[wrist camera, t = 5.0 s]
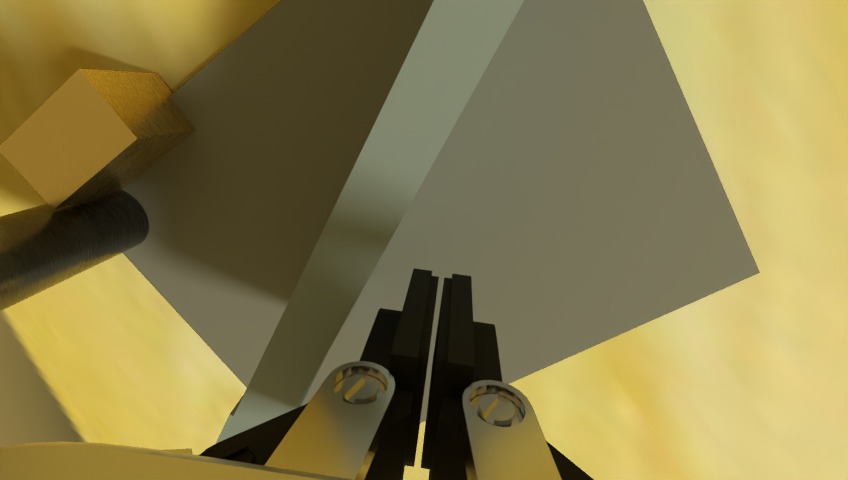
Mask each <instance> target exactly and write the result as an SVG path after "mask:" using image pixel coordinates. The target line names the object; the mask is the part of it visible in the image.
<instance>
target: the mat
mask: <svg viewBox="0 0 848 480" xmlns="http://www.w3.org/2000/svg"><path fill="white" fill-rule="evenodd" d="M433 1H434V0H281V1H280V2H279V3H278V4H277V5H275V6H274V7H273V8H272V9H271V10H270V11H268V12H267V13H266V14H265V15H264V16H263V17H261V18H260V19H259V20H258V21H257V22H256V23H255V24H253V25H252V26H251V27H250V28H249V29H248V30H246V31H245V32H244V33H243V34H242V35H241V36H239V37H238V38H237V39H236V40H235V41H234V42H232V43H231V44H230V45H229V46H228V47H227V48H226V49H224V50H223V51H222V52H221V53H220V54H219V55H217V56H216V57H215V58H214V59H213V60H212V61H210V62H209V63H208V64H207V65H206V66H205V67H203V68H202V69H201V70H200V71H199V72H198V73H197V74H195V75H194V76H193V77H192V78H191V79H190V80H188V81H187V82H186V83H185V84H184V85H183V86H181V87H180V88H179V89H178V90H177V91H176V92H174V93H173V94H172V95H171V96H170V98H171V99H172V100H173V102H174V103H175V104H176V105H177V107H178V108H179V109H180V111H181V112H182V113H183V114H184V116H185V117H186V118H187V119H188V121H189V122H190V123H191V125H192V126H193V127H194V128H195V131H194V132H193V133H191V134H190V135H189V136H188V137H186V138H185V139H184V140H183V141H182V142H180V143H179V144H178V145H177V146H175V147H174V148H173V149H172V150H170V151H169V152H168V153H167V154H165V155H164V156H163V157H162V158H161V159H159V160H158V161H157V162H156V163H154V164H153V165H152V166H151V167H149V168H148V169H147V170H146V171H144V172H143V173H142V174H141V175H140V176H138V177H137V178H136V179H135V180H133V181H132V182H131V183H130V184H128V185H127V186H126V187H125V188H123V189H122V190H123V191H125V192H127V193H129V194H130V195H132V196H133V197H134V198H135V199H136V200H137V201H138V202H139V203H140V204H141V205H142V207H143V208H144V210H145V212H146V214H147V217H148V221H149V232H148V235H147V237H146V239H145V240H144V241H143V242H142V243H141V244H139V245H137V246H135V247H133V248H131V249H129V250H127V251H125V252H122V253H123V254H124V255H125V256H126V257H127V258H128V259H129V260H130V261H131V262H132V264H133V265H134V266H135V267H136V268H137V269H138V270H139V271H140V272H141V273H142V274H143V275H144V277H145V278H146V279H147V280H148V281H149V282H150V283H151V284H152V285H153V286H154V287H155V288H156V290H157V291H158V292H159V293H160V294H161V295H162V296H163V297H164V298H165V299H166V300H167V302H168V303H169V304H170V305H171V306H172V307H173V308H174V309H175V310H176V311H177V312H178V313H179V315H180V316H181V317H182V318H183V319H184V320H185V321H186V322H187V323H188V324H189V325H190V326H191V328H192V329H193V330H194V331H195V332H196V333H197V334H198V335H199V336H200V337H201V338H202V339H203V341H204V342H205V343H206V344H207V345H208V346H209V347H210V348H211V349H212V350H213V351H214V353H215V354H216V355H217V356H218V357H219V358H220V359H221V360H222V361H223V362H224V363H225V364H226V366H227V367H228V368H229V369H230V370H231V371H232V372H233V373H234V374H235V375H236V376H237V377H238V379H239V380H240V381H241V382H242V383H243V384H244V385H245V386H246V387H248V385H249V383H250V381H251V379H252V377H253V375H254V373H255V371H256V369H257V367H258V364H259V362H260V360H261V358H262V356H263V354H264V352H265V350H266V348H267V346H268V344H269V342H270V340H271V337H272V335H273V333H274V331H275V329H276V327H277V325H278V323H279V321H280V319H281V317H282V315H283V313H284V310H285V308H286V306H287V304H288V302H289V300H290V298H291V296H292V294H293V292H294V290H295V288H296V286H297V283H298V281H299V279H300V277H301V275H302V273H303V271H304V269H305V267H306V265H307V263H308V261H309V259H310V256H311V254H312V252H313V250H314V248H315V246H316V244H317V242H318V240H319V238H320V236H321V234H322V232H323V229H324V227H325V225H326V223H327V221H328V219H329V217H330V215H331V213H332V211H333V209H334V207H335V205H336V202H337V200H338V198H339V196H340V194H341V192H342V190H343V188H344V186H345V184H346V182H347V180H348V178H349V175H350V173H351V171H352V169H353V167H354V165H355V163H356V161H357V159H358V157H359V155H360V153H361V151H362V149H363V146H364V144H365V142H366V140H367V138H368V136H369V134H370V132H371V130H372V128H373V126H374V124H375V122H376V119H377V117H378V115H379V113H380V111H381V109H382V107H383V105H384V103H385V101H386V99H387V97H388V95H389V92H390V90H391V88H392V86H393V84H394V82H395V80H396V78H397V76H398V74H399V72H400V70H401V68H402V65H403V63H404V61H405V59H406V57H407V55H408V53H409V51H410V49H411V47H412V45H413V43H414V41H415V38H416V36H417V34H418V32H419V30H420V28H421V26H422V24H423V22H424V20H425V18H426V16H427V14H428V11H429V9H430V7H431V5H432V3H433ZM414 268H416V269H423V270H430V271H432V276H437V277H439V280H438V288H437V296H436V304H435V312H434V319H433V327H432V335H431V343H430V351H429V359H428V366H427V374H426V381H425V388H424V396H423V403H422V410H421V418H420V423H421V422H423V421H426V416H427V407H428V398H429V389H430V380H431V371H432V362H433V355H434V348H435V341H436V333H437V326H438V319H439V312H440V305H441V298H442V291H443V284H444V277H445V278H452V274H459V275H467V276H471V281H472V304H473V321H475V322H482V323H489V324H494V325H495V329H496V336H497V344H498V351H499V359H500V366H501V374H502V381H503V383H506V384H509V383H512V382H514V381H516V380H518V379H521V378H523V377H525V376H527V375H530V374H532V373H534V372H536V371H539V370H541V369H543V368H545V367H548V366H550V365H552V364H554V363H557V362H559V361H561V360H563V359H566V358H568V357H570V356H572V355H575V354H577V353H579V352H582V351H584V350H586V349H588V348H591V347H593V346H595V345H597V344H600V343H602V342H604V341H606V340H609V339H611V338H613V337H615V336H618V335H620V334H622V333H624V332H627V331H629V330H631V329H633V328H636V327H638V326H640V325H642V324H645V323H647V322H649V321H652V320H654V319H656V318H658V317H661V316H663V315H665V314H667V313H670V312H672V311H674V310H676V309H679V308H681V307H683V306H685V305H688V304H690V303H692V302H694V301H697V300H699V299H701V298H703V297H706V296H708V295H710V294H712V293H715V292H717V291H719V290H722V289H724V288H726V287H728V286H731V285H733V284H735V283H737V282H740V281H742V280H744V279H746V278H749V277H751V276H753V275H755V274H758V273H760V272H759V270H758V267H757V265H756V263H755V260H754V258H753V256H752V253H751V251H750V249H749V247H748V244H747V242H746V240H745V237H744V235H743V233H742V230H741V228H740V226H739V223H738V221H737V219H736V216H735V214H734V212H733V209H732V207H731V205H730V202H729V200H728V198H727V195H726V193H725V191H724V188H723V186H722V184H721V181H720V179H719V177H718V174H717V172H716V170H715V167H714V165H713V163H712V160H711V158H710V156H709V153H708V151H707V149H706V146H705V144H704V142H703V139H702V137H701V135H700V132H699V130H698V128H697V125H696V123H695V121H694V118H693V116H692V114H691V111H690V109H689V107H688V104H687V102H686V100H685V97H684V95H683V93H682V90H681V88H680V86H679V83H678V81H677V79H676V76H675V74H674V72H673V69H672V67H671V65H670V62H669V60H668V58H667V55H666V53H665V51H664V48H663V46H662V44H661V41H660V39H659V37H658V34H657V32H656V30H655V27H654V25H653V23H652V20H651V18H650V16H649V13H648V11H647V9H646V6H645V4H644V2H643V0H524V2H523V4H522V5H521V7H520V9H519V11H518V12H517V14H516V16H515V18H514V20H513V21H512V23H511V25H510V27H509V29H508V30H507V32H506V34H505V36H504V38H503V39H502V41H501V43H500V45H499V46H498V48H497V50H496V52H495V54H494V55H493V57H492V59H491V61H490V63H489V64H488V66H487V68H486V70H485V72H484V73H483V75H482V77H481V79H480V81H479V82H478V84H477V86H476V88H475V89H474V91H473V93H472V95H471V97H470V98H469V100H468V102H467V104H466V106H465V107H464V109H463V111H462V113H461V115H460V116H459V118H458V120H457V122H456V123H455V125H454V127H453V129H452V131H451V132H450V134H449V136H448V138H447V140H446V141H445V143H444V145H443V147H442V149H441V150H440V152H439V154H438V156H437V158H436V159H435V161H434V163H433V165H432V166H431V168H430V170H429V172H428V174H427V175H426V177H425V179H424V181H423V183H422V184H421V186H420V188H419V190H418V192H417V193H416V195H415V197H414V199H413V200H412V202H411V204H410V206H409V208H408V209H407V211H406V213H405V215H404V217H403V218H402V220H401V222H400V224H399V226H398V227H397V229H396V231H395V233H394V235H393V236H392V238H391V240H390V242H389V243H388V245H387V247H386V249H385V251H384V252H383V254H382V256H381V258H380V260H379V261H378V263H377V265H376V267H375V269H374V270H373V272H372V274H371V276H370V277H369V279H368V281H367V283H366V285H365V286H364V288H363V290H362V292H361V294H360V295H359V297H358V299H357V301H356V303H355V304H354V306H353V308H352V310H351V312H350V313H349V315H348V317H347V319H346V320H345V322H344V324H343V326H342V328H341V329H340V331H339V333H338V335H337V337H336V338H335V340H334V342H333V344H332V346H331V347H330V349H329V351H328V353H327V355H326V357H325V359H324V361H323V363H322V365H321V367H320V369H319V371H318V373H317V375H316V377H315V379H314V381H313V383H312V385H311V387H310V389H309V391H308V393H307V395H306V397H305V399H304V401H303V403H302V405H301V406H303V405H305V404H307V403H309V402H310V400H311V399H312V397H313V396H314V395H315V393H316V392H317V390H318V389H319V388H320V386H321V385H322V383H323V382H324V381H325V379H326V378H327V376H328V375H329V374H330V373H331V372H332V371H333V370H334V369H335V368H337V367H339V366H341V365H343V364H346V363H350V362H355V361H360V358H361V355H362V353H363V350H364V347H365V345H366V342H367V339H368V337H369V334H370V331H371V329H372V326H373V323H374V321H375V318H376V316H377V313H378V310H379V309H380V308H384V309H391V310H398V311H402V309H403V306H404V302H405V298H406V295H407V291H408V287H409V284H410V280H411V276H412V273H413V269H414Z"/></svg>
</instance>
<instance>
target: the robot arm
mask: <svg viewBox="0 0 848 480" xmlns="http://www.w3.org/2000/svg"><path fill="white" fill-rule="evenodd" d="M438 280H439V277H437V276H432V271H430V270H423V269H416V268H414V269H413V273H412V276H411V280H410V284H409V287H408V291H407V295H406V298H405V302H404V306H403V309H402V311H398V310H391V309H384V308H380V309H379V310H378V313H377V316H376V318H375V321H374V323H373V326H372V329H371V331H370V334H369V337H368V339H367V342H366V345H365V347H364V350H363V353H362V355H361V358H360V361H355V362H350V363H346V364H343V365H341V366H339V367H337V368H335V369H334V370H333V371H332V372H331V373H330V374H329V375H328V376H327V378H326V379H325V381H324V382H323V383H322V385H321V386H320V388H319V389H318V390H317V392H316V393H315V395H314V396H313V397H312V399H311V400H310V402H309V403H307V404H305V405H303V406H300V407H298V408H296V409H294V410H291V411H289V412H287V413H284V414H282V415H280V416H278V417H275V418H273V419H271V420H268V421H266V422H264V423H262V424H259V425H257V426H255V427H252V428H250V429H248V430H246V431H243V432H241V433H239V434H236V435H234V436H232V437H230V438H227V439H225V440H223V441H220V442H218V443H217V444H215V445H213V446H211V447H209V448H208V449H206V450H205V451H204V452H203V453H202V454H200V455H193V454H192V449H175V450H155V449H147V448H139V447H130V446H121V445H112V444H103V443H83V442H46V443H28V444H17V445H11V446H4V447H0V480H403V474H404V467H405V465H406V466H413V467H414V462H415V455H416V447H417V440H418V433H419V425H420V418H421V410H422V403H423V396H424V388H425V381H426V374H427V366H428V359H429V351H430V343H431V335H432V327H433V319H434V312H435V304H436V296H437V288H438ZM421 468H426V469H430V471H429V480H593V479H592V478H591V477H590V476H588V475H587V474H586V473H585V472H584V471H582V470H581V469H580V468H579V467H577V466H576V465H575V464H574V463H573V462H571V461H570V460H569V459H568V458H566V457H565V456H564V455H563V454H562V453H560V452H559V451H558V450H557V449H555V448H554V447H553V446H552V445H551V444H549V443H548V442H547V441H546V440H545V437H544V435H543V432H542V430H541V427H540V425H539V422H538V420H537V417H536V415H535V412H534V410H533V408H532V405H531V404H530V402H529V400H528V399H527V397H526V396H524V395H523V394H522V393H521V392H520V391H519V390H518V389H516V388H514V387H513V386H511V385H509V384H506V383H503V381H502V374H501V366H500V359H499V351H498V344H497V336H496V329H495V325H494V324H489V323H482V322H475V321H473V304H472V281H471V276H467V275H459V274H452V278H445V277H444V284H443V291H442V298H441V305H440V312H439V319H438V326H437V333H436V341H435V348H434V355H433V362H432V371H431V380H430V389H429V398H428V407H427V416H426V425H425V434H424V443H423V452H422V461H421Z"/></svg>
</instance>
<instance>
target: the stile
mask: <svg viewBox="0 0 848 480" xmlns="http://www.w3.org/2000/svg"><path fill="white" fill-rule="evenodd" d="M172 94H173V93H172V92H171V90H170V89H169V88H168V86H167V85H166V84H165V83H164V81H163V80H162V79H161V78H160V76H159V75H158V74H157V73H146V72H129V71H111V70H94V69H78V70H77V71H76V72H75V73H74V74H73V75H72V76H71V77H70V78H69V79H68V80H67V81H66V82H65V83H64V84H63V85H62V86H61V87H60V88H59V89H58V90H57V91H55V92H54V93H53V94H52V95H51V96H50V97H49V98H48V99H47V100H46V101H45V102H44V103H43V104H42V105H41V106H40V107H39V108H38V109H37V110H36V111H35V112H34V113H33V114H32V115H31V116H30V117H29V118H28V119H27V120H26V121H25V122H24V123H23V124H22V125H21V126H20V127H18V128H17V129H16V130H15V131H14V132H13V133H12V134H11V135H10V136H9V137H8V138H7V139H6V140H5V141H4V142H3V143H2V144H1V145H0V153H1V154H2V155H3V156H4V157H5V158H6V159H7V161H8V162H9V163H10V164H11V165H12V166H13V167H14V168H15V169H16V170H17V171H18V172H19V173H20V174H21V175H22V176H23V178H24V179H25V180H26V181H27V182H28V183H29V184H30V185H31V186H32V187H33V188H34V189H35V190H36V191H37V192H38V193H39V194H40V196H41V197H42V198H43V199H44V200H45V201H46V202H47V203H48V204H44V205H41V206H37V207H34V208H30V209H26V210H23V211H19V212H15V213H12V214H8V215H4V216H1V217H0V311H1V310H4V309H6V308H8V307H10V306H12V305H14V304H16V303H18V302H20V301H22V300H24V299H27V298H29V297H31V296H33V295H35V294H37V293H39V292H41V291H43V290H45V289H47V288H49V287H52V286H54V285H56V284H58V283H60V282H62V281H64V280H66V279H68V278H70V277H72V276H74V275H77V274H79V273H81V272H83V271H85V270H87V269H89V268H91V267H93V266H95V265H97V264H100V263H102V262H104V261H106V260H108V259H110V258H112V257H114V256H116V255H118V254H120V253H122V252H125V251H127V250H129V249H131V248H133V247H135V246H137V245H139V244H141V243H142V242H143V241H144V240H145V239H146V237H147V235H148V232H149V221H148V217H147V214H146V212H145V210H144V208H143V207H142V205H141V204H140V203H139V202H138V201H137V200H136V199H135V198H134V197H133V196H132V195H130V194H129V193H127V192H125V191H123V190H122V189H123V188H125V187H126V186H127V185H128V184H130V183H131V182H132V181H133V180H135V179H136V178H137V177H138V176H140V175H141V174H142V173H143V172H144V171H146V170H147V169H148V168H149V167H151V166H152V165H153V164H154V163H156V162H157V161H158V160H159V159H161V158H162V157H163V156H164V155H165V154H167V153H168V152H169V151H170V150H172V149H173V148H174V147H175V146H177V145H178V144H179V143H180V142H182V141H183V140H184V139H185V138H186V137H188V136H189V135H190V134H191V133H193V132H194V131H195V128H194V127H193V126H192V125H191V123H190V122H189V121H188V119H187V118H186V117H185V116H184V114H183V113H182V112H181V111H180V109H179V108H178V107H177V105H176V104H175V103H174V102H173V100H172V99H171V98H170V96H171V95H172Z"/></svg>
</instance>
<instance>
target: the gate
mask: <svg viewBox="0 0 848 480" xmlns="http://www.w3.org/2000/svg"><path fill="white" fill-rule="evenodd" d="M523 2H524V0H434V1H433V3H432V5H431V7H430V9H429V11H428V14H427V16H426V18H425V20H424V22H423V24H422V26H421V28H420V30H419V32H418V34H417V36H416V38H415V41H414V43H413V45H412V47H411V49H410V51H409V53H408V55H407V57H406V59H405V61H404V63H403V65H402V68H401V70H400V72H399V74H398V76H397V78H396V80H395V82H394V84H393V86H392V88H391V90H390V92H389V95H388V97H387V99H386V101H385V103H384V105H383V107H382V109H381V111H380V113H379V115H378V117H377V119H376V122H375V124H374V126H373V128H372V130H371V132H370V134H369V136H368V138H367V140H366V142H365V144H364V146H363V149H362V151H361V153H360V155H359V157H358V159H357V161H356V163H355V165H354V167H353V169H352V171H351V173H350V175H349V178H348V180H347V182H346V184H345V186H344V188H343V190H342V192H341V194H340V196H339V198H338V200H337V202H336V205H335V207H334V209H333V211H332V213H331V215H330V217H329V219H328V221H327V223H326V225H325V227H324V229H323V232H322V234H321V236H320V238H319V240H318V242H317V244H316V246H315V248H314V250H313V252H312V254H311V256H310V259H309V261H308V263H307V265H306V267H305V269H304V271H303V273H302V275H301V277H300V279H299V281H298V283H297V286H296V288H295V290H294V292H293V294H292V296H291V298H290V300H289V302H288V304H287V306H286V308H285V310H284V313H283V315H282V317H281V319H280V321H279V323H278V325H277V327H276V329H275V331H274V333H273V335H272V337H271V340H270V342H269V344H268V346H267V348H266V350H265V352H264V354H263V356H262V358H261V360H260V362H259V364H258V367H257V369H256V371H255V373H254V375H253V377H252V379H251V381H250V383H249V385H248V387H247V389H246V391H245V393H244V395H243V396H242V398H241V399H240V401H239V402H238V403H237V405H236V406H235V408H234V409H233V410H232V412H231V413H230V415H229V417H228V419H227V421H226V423H225V425H224V427H223V429H222V432H221V434H220V436H219V438H218V440H217V442H216V444H217V443H218V442H220V441H223V440H225V439H227V438H230V437H232V436H234V435H236V434H239V433H241V432H243V431H246V430H248V429H250V428H252V427H255V426H257V425H259V424H262V423H264V422H266V421H268V420H271V419H273V418H275V417H278V416H280V415H282V414H284V413H287V412H289V411H291V410H294V409H296V408H298V407H300V406H301V405H302V403H303V401H304V399H305V397H306V395H307V393H308V391H309V389H310V387H311V385H312V383H313V381H314V379H315V377H316V375H317V373H318V371H319V369H320V367H321V365H322V363H323V361H324V359H325V357H326V355H327V353H328V351H329V349H330V347H331V346H332V344H333V342H334V340H335V338H336V337H337V335H338V333H339V331H340V329H341V328H342V326H343V324H344V322H345V320H346V319H347V317H348V315H349V313H350V312H351V310H352V308H353V306H354V304H355V303H356V301H357V299H358V297H359V295H360V294H361V292H362V290H363V288H364V286H365V285H366V283H367V281H368V279H369V277H370V276H371V274H372V272H373V270H374V269H375V267H376V265H377V263H378V261H379V260H380V258H381V256H382V254H383V252H384V251H385V249H386V247H387V245H388V243H389V242H390V240H391V238H392V236H393V235H394V233H395V231H396V229H397V227H398V226H399V224H400V222H401V220H402V218H403V217H404V215H405V213H406V211H407V209H408V208H409V206H410V204H411V202H412V200H413V199H414V197H415V195H416V193H417V192H418V190H419V188H420V186H421V184H422V183H423V181H424V179H425V177H426V175H427V174H428V172H429V170H430V168H431V166H432V165H433V163H434V161H435V159H436V158H437V156H438V154H439V152H440V150H441V149H442V147H443V145H444V143H445V141H446V140H447V138H448V136H449V134H450V132H451V131H452V129H453V127H454V125H455V123H456V122H457V120H458V118H459V116H460V115H461V113H462V111H463V109H464V107H465V106H466V104H467V102H468V100H469V98H470V97H471V95H472V93H473V91H474V89H475V88H476V86H477V84H478V82H479V81H480V79H481V77H482V75H483V73H484V72H485V70H486V68H487V66H488V64H489V63H490V61H491V59H492V57H493V55H494V54H495V52H496V50H497V48H498V46H499V45H500V43H501V41H502V39H503V38H504V36H505V34H506V32H507V30H508V29H509V27H510V25H511V23H512V21H513V20H514V18H515V16H516V14H517V12H518V11H519V9H520V7H521V5H522V4H523Z"/></svg>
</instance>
